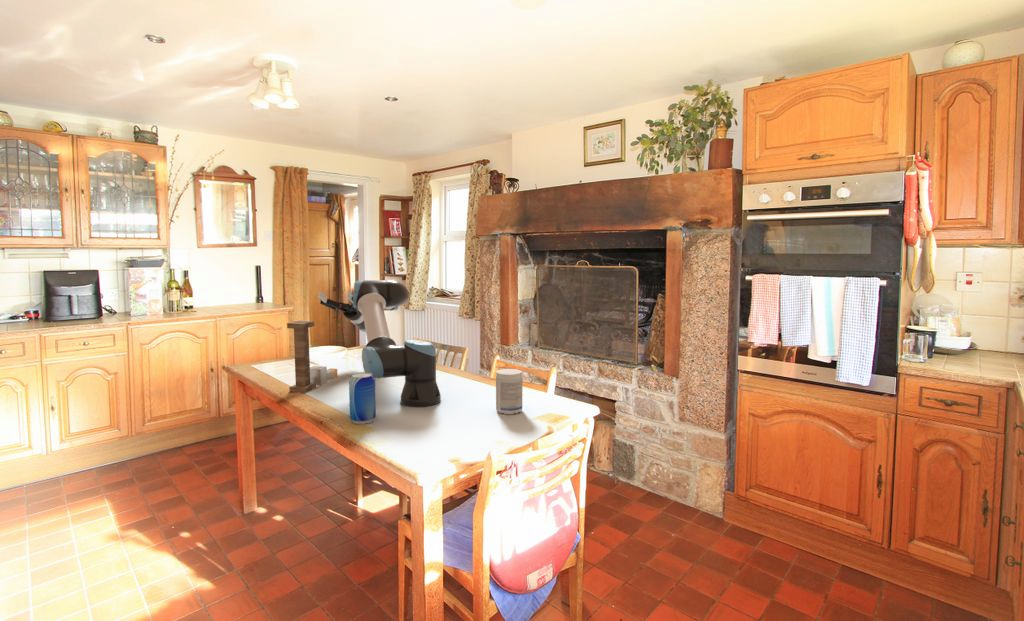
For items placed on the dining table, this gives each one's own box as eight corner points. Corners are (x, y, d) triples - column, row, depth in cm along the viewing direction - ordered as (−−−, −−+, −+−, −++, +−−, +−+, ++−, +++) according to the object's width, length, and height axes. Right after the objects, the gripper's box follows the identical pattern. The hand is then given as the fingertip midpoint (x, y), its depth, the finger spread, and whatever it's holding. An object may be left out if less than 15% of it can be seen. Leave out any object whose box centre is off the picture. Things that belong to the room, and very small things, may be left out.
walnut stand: (305, 393, 206) (302, 324, 203) (289, 391, 207) (287, 323, 204) (316, 387, 214) (314, 321, 210) (301, 386, 215) (298, 320, 212)
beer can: (366, 415, 179) (365, 370, 177) (380, 420, 174) (380, 374, 172) (344, 421, 173) (343, 374, 171) (359, 427, 167) (358, 379, 166)
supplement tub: (527, 411, 186) (528, 371, 184) (508, 417, 179) (509, 376, 178) (509, 405, 193) (509, 367, 191) (490, 410, 186) (490, 371, 185)
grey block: (320, 385, 218) (320, 369, 217) (308, 384, 219) (307, 368, 218) (340, 376, 233) (339, 361, 232) (327, 375, 234) (327, 360, 233)
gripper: (377, 321, 240) (358, 302, 221) (327, 320, 244) (305, 301, 225) (380, 307, 243) (361, 287, 224) (331, 305, 247) (309, 285, 228)
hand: (333, 294), depth 224 cm, fingers open, 13 cm apart
